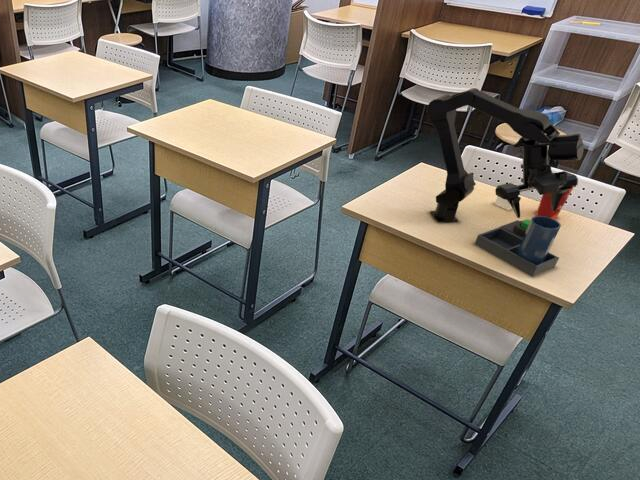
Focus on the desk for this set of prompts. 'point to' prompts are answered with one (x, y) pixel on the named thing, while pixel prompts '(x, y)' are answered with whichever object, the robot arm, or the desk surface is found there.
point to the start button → (525, 223)
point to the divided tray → (512, 251)
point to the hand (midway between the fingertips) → (535, 214)
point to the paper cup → (545, 205)
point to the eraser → (502, 203)
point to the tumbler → (538, 239)
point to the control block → (515, 228)
